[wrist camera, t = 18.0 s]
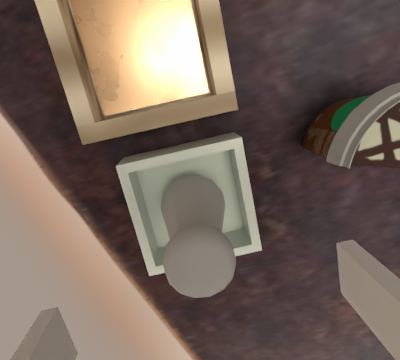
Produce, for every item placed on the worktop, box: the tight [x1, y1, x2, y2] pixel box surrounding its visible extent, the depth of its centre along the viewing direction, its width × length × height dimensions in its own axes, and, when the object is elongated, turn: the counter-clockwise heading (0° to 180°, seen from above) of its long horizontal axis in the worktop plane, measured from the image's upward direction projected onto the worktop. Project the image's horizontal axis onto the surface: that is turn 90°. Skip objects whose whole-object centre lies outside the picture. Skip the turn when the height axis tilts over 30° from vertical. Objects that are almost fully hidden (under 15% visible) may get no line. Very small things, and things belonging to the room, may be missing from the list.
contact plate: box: [70, 0, 209, 116], centre depth 25 cm, size 9×9×1 cm
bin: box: [116, 132, 262, 276], centre depth 27 cm, size 11×11×4 cm
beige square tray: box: [35, 0, 238, 145], centre depth 24 cm, size 13×13×4 cm
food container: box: [302, 82, 400, 168], centre depth 24 cm, size 12×6×10 cm, turn 85°
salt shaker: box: [161, 175, 236, 298], centre depth 23 cm, size 6×6×13 cm
